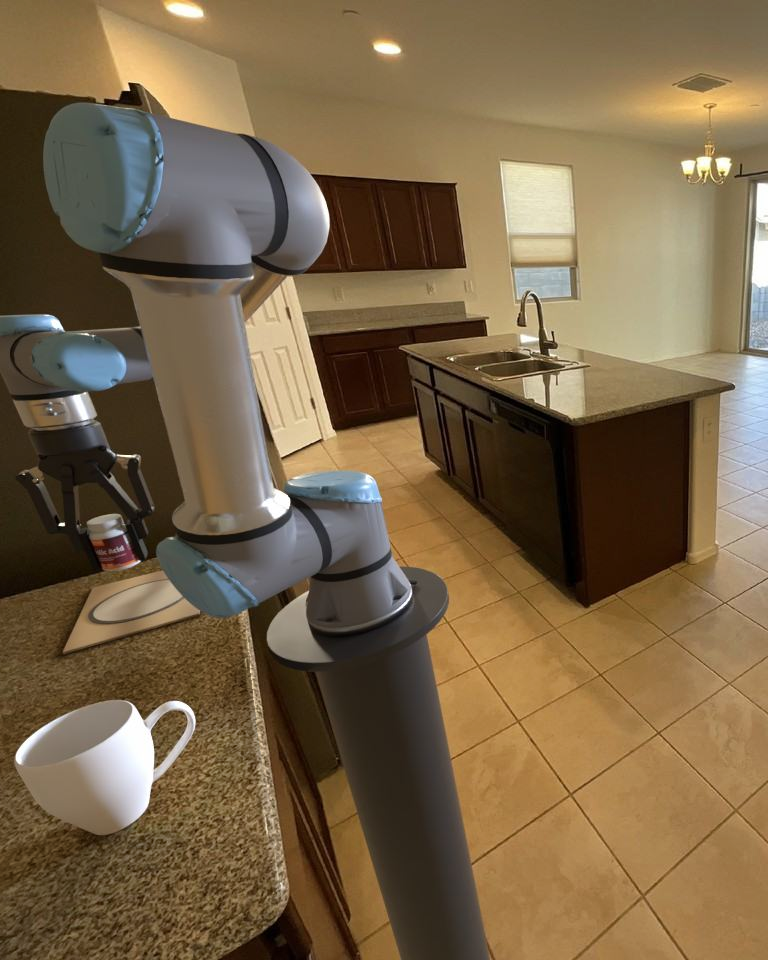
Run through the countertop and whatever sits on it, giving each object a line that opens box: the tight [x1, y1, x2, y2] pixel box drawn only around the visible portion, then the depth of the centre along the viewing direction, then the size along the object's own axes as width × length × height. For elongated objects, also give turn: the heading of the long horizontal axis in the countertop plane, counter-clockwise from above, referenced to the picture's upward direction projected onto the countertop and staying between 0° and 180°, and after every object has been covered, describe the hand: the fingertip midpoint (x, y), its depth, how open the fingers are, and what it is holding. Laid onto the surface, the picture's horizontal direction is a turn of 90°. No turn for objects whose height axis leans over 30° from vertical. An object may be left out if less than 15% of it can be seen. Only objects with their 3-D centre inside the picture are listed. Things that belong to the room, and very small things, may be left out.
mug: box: [13, 699, 196, 836], centre depth 53 cm, size 12×8×11 cm
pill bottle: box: [86, 513, 141, 572], centre depth 84 cm, size 5×5×8 cm
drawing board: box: [62, 569, 201, 655], centre depth 90 cm, size 16×22×1 cm
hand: (121, 561), depth 85 cm, fingers closed on pill bottle, 5 cm apart
